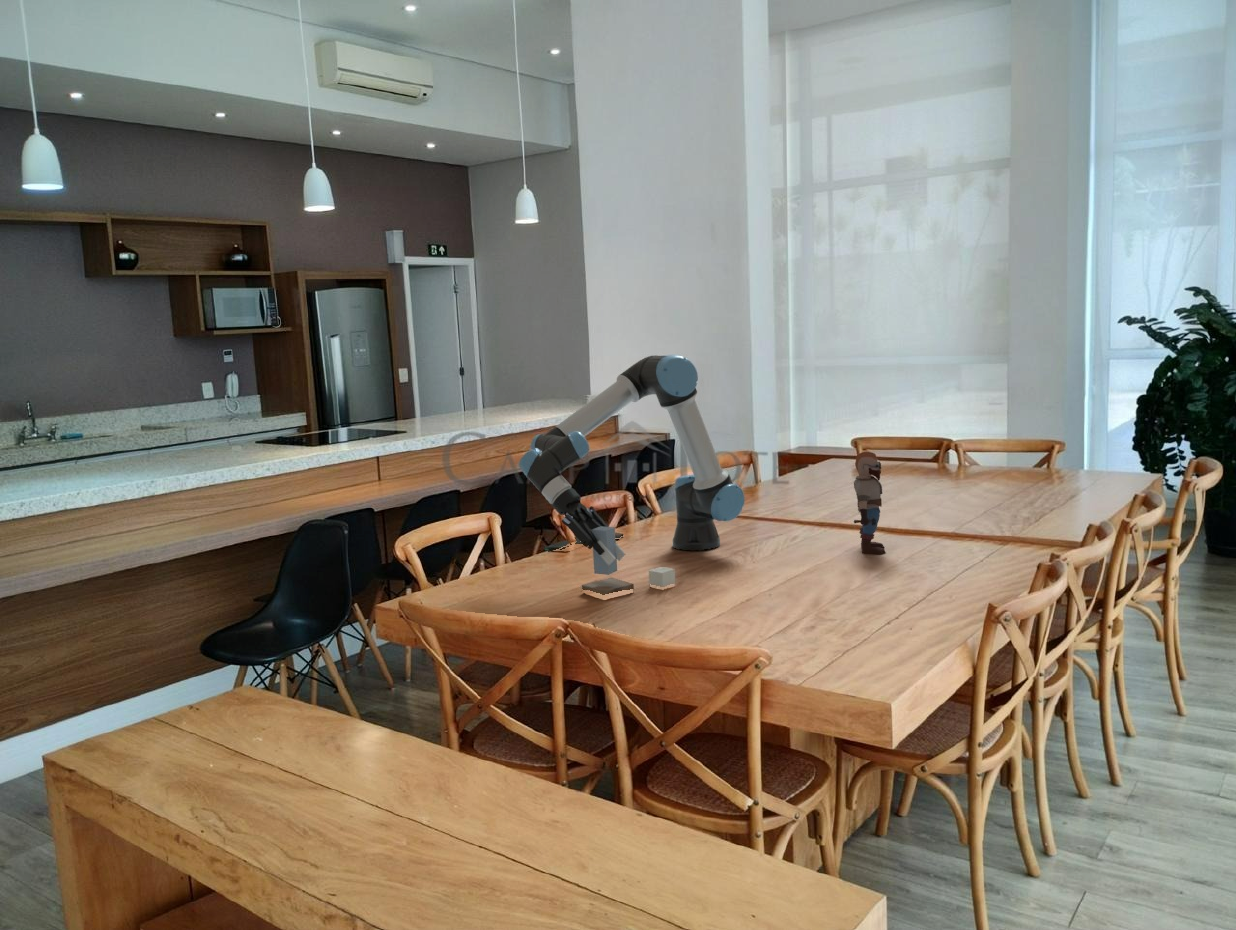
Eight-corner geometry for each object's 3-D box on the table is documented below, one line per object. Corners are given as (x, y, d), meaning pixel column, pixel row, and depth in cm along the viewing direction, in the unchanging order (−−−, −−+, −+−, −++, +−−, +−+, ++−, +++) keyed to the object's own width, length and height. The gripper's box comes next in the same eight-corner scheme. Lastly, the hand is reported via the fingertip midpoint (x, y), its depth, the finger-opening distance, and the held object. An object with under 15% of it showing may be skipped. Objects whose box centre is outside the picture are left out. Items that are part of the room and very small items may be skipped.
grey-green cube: (661, 584, 272) (661, 566, 271) (675, 586, 269) (674, 568, 268) (649, 588, 269) (648, 570, 268) (663, 591, 265) (662, 573, 264)
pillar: (603, 569, 268) (600, 526, 266) (617, 570, 265) (614, 527, 264) (594, 573, 264) (591, 529, 262) (608, 574, 262) (606, 530, 260)
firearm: (578, 550, 312) (542, 546, 321) (578, 557, 313) (542, 552, 322) (629, 531, 335) (594, 528, 344) (629, 537, 335) (594, 534, 344)
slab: (612, 588, 273) (611, 577, 272) (634, 594, 265) (633, 583, 264) (582, 595, 267) (581, 584, 266) (603, 602, 259) (603, 591, 258)
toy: (887, 559, 284) (885, 456, 280) (854, 559, 286) (852, 457, 282) (882, 541, 306) (880, 446, 301) (852, 542, 307) (849, 447, 303)
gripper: (572, 499, 278) (625, 561, 271) (536, 511, 263) (592, 576, 256) (586, 481, 274) (641, 543, 268) (551, 492, 259) (608, 558, 253)
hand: (617, 559), depth 262 cm, fingers closed on pillar, 4 cm apart
